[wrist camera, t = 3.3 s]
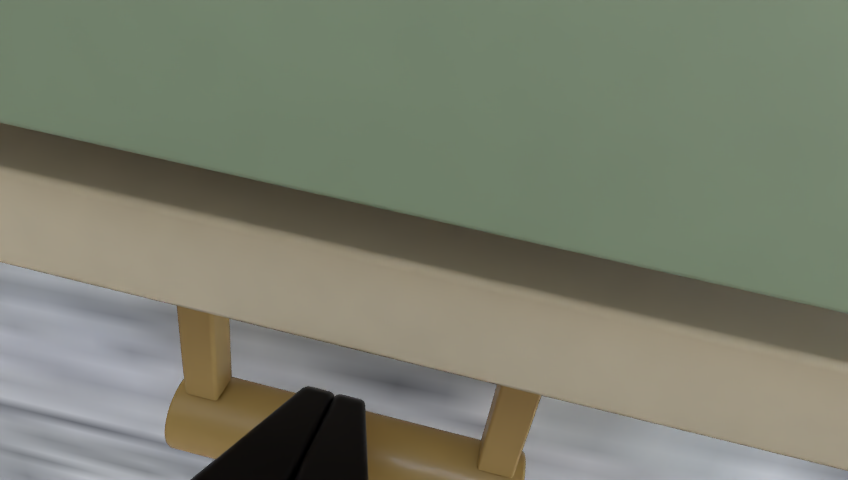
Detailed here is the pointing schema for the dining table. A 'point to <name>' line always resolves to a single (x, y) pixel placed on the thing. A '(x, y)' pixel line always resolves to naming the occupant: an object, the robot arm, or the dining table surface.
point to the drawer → (418, 311)
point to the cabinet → (485, 116)
